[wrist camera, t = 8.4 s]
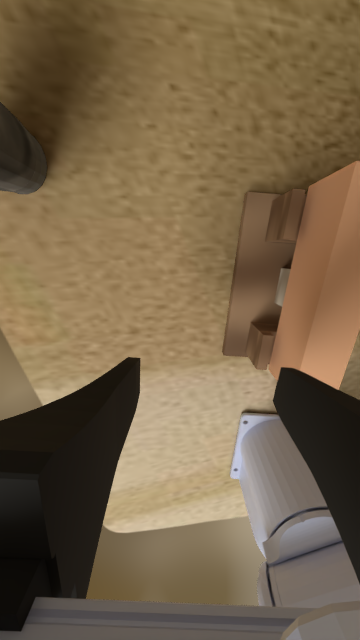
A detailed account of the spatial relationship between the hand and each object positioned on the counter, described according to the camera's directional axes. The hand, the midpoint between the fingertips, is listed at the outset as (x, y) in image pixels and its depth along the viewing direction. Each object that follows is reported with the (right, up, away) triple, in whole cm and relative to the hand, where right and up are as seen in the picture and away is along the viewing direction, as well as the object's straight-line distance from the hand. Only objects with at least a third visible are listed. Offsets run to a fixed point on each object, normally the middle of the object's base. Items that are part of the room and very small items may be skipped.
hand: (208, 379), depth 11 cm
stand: (+8, +6, +8) cm, 13 cm away
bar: (+8, +5, +6) cm, 11 cm away
